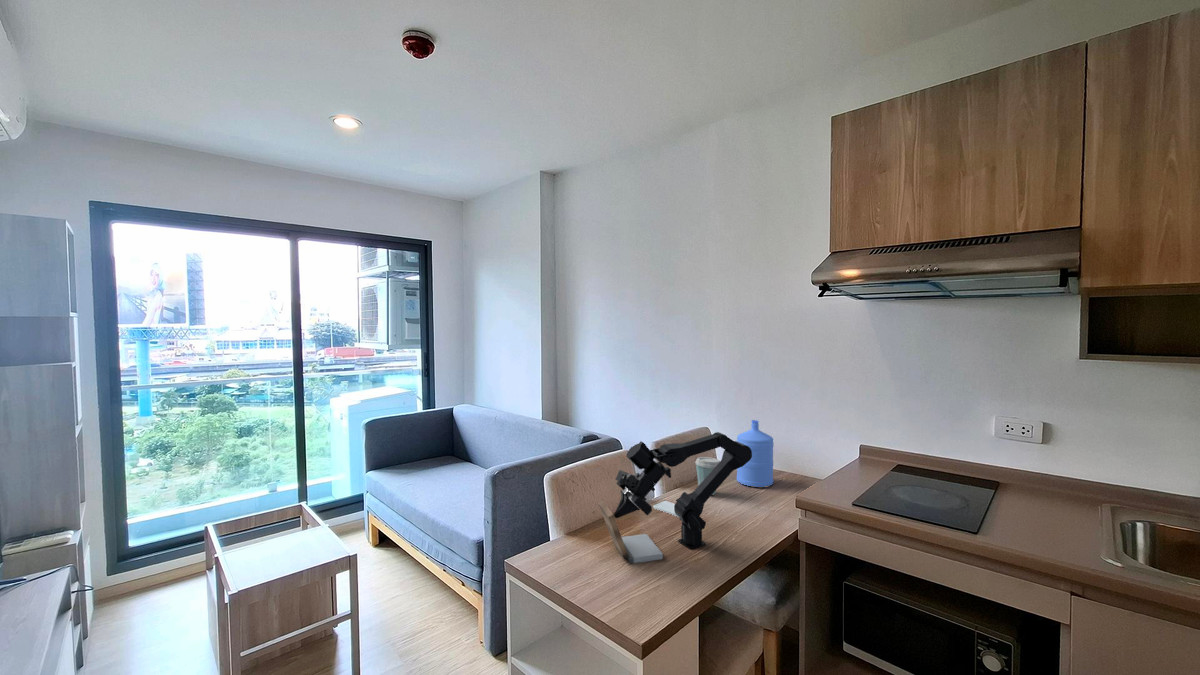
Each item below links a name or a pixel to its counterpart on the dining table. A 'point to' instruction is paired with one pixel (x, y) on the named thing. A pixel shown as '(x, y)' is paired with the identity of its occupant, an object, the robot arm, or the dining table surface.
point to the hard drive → (666, 507)
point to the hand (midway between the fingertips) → (615, 516)
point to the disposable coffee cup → (705, 467)
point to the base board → (641, 548)
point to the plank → (613, 529)
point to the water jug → (757, 458)
